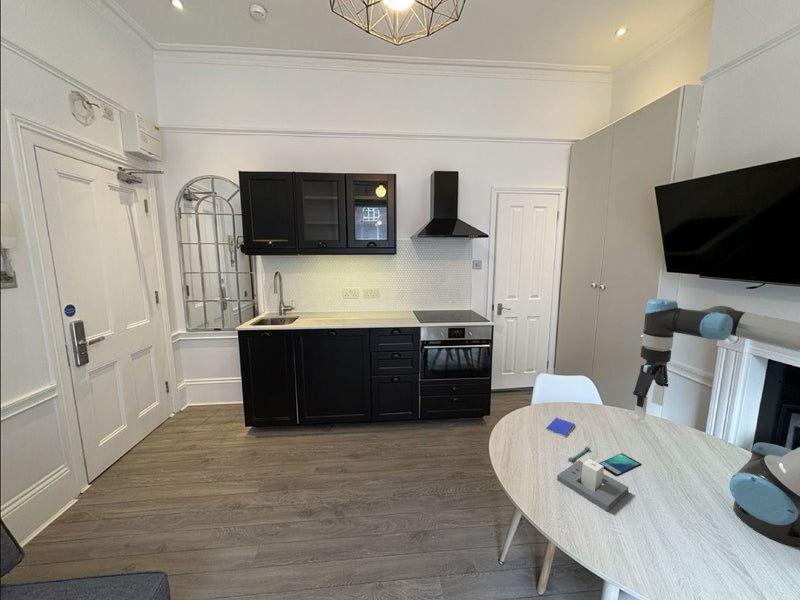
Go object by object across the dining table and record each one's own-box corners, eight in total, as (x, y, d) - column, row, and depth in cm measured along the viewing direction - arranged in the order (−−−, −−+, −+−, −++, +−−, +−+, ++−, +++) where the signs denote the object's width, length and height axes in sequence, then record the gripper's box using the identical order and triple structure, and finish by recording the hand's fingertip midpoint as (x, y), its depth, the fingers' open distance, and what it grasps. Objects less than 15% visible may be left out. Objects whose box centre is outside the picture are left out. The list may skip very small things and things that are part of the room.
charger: (601, 487, 106) (603, 465, 105) (594, 493, 104) (596, 470, 102) (587, 479, 110) (589, 457, 109) (580, 484, 108) (582, 462, 106)
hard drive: (555, 417, 149) (545, 427, 140) (574, 423, 143) (565, 435, 135) (555, 420, 149) (545, 430, 141) (574, 426, 143) (565, 438, 135)
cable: (589, 450, 126) (589, 448, 126) (571, 462, 119) (571, 460, 119) (586, 448, 127) (586, 446, 127) (568, 460, 120) (568, 458, 120)
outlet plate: (627, 492, 104) (628, 486, 103) (607, 511, 96) (607, 505, 96) (578, 465, 117) (579, 459, 117) (557, 480, 110) (557, 474, 109)
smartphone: (596, 463, 118) (621, 452, 124) (596, 465, 118) (621, 454, 124) (616, 475, 111) (641, 463, 117) (616, 477, 111) (641, 465, 117)
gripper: (657, 338, 111) (650, 395, 114) (625, 351, 98) (618, 415, 101) (685, 343, 105) (677, 403, 108) (654, 358, 91) (646, 425, 95)
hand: (648, 409), depth 104 cm, fingers open, 13 cm apart
